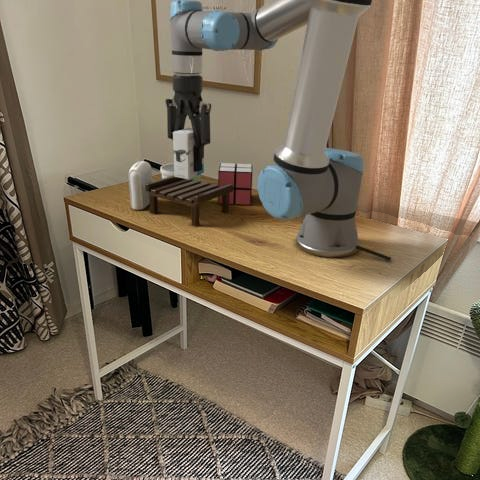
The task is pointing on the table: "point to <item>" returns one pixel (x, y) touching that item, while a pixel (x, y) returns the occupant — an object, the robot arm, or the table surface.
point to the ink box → (184, 154)
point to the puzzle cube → (236, 182)
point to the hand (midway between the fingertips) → (189, 168)
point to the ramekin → (172, 171)
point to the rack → (187, 194)
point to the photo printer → (139, 184)
